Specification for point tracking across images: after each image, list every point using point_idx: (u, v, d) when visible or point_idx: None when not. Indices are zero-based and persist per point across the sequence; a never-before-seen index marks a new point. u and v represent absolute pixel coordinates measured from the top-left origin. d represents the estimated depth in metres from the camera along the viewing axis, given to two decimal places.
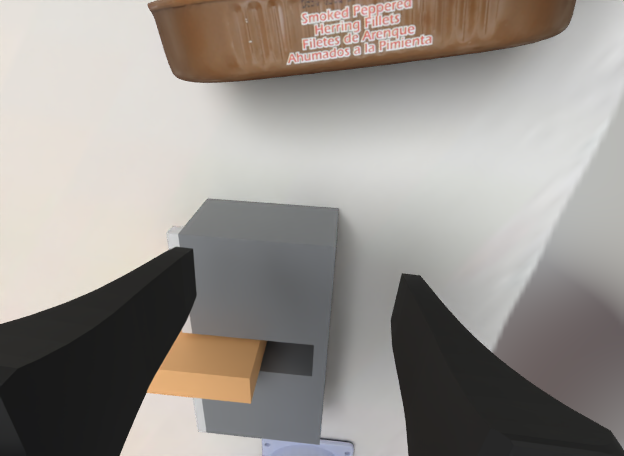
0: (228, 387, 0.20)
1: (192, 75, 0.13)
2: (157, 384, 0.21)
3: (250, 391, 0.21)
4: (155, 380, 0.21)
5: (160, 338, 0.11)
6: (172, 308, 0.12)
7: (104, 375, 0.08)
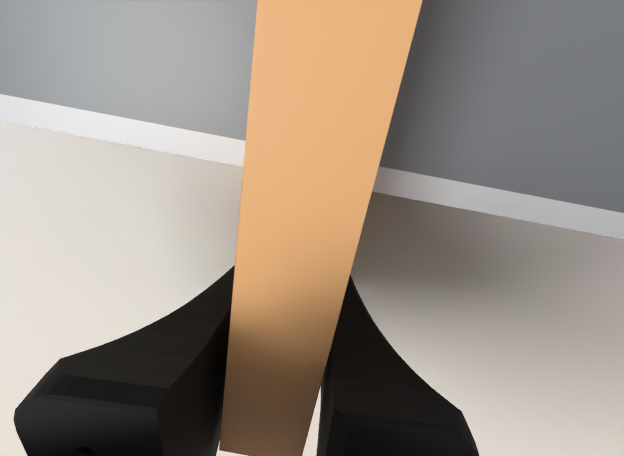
0: None
1: None
2: (304, 264, 0.07)
3: None
4: (287, 265, 0.07)
5: None
6: None
7: (209, 389, 0.08)
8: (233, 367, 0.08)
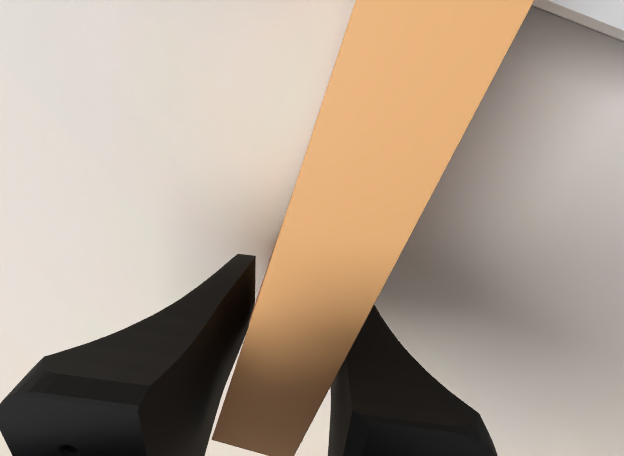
0: None
1: None
2: (343, 265, 0.06)
3: None
4: (325, 264, 0.06)
5: (231, 347, 0.11)
6: (240, 317, 0.12)
7: (197, 387, 0.08)
8: (245, 359, 0.08)
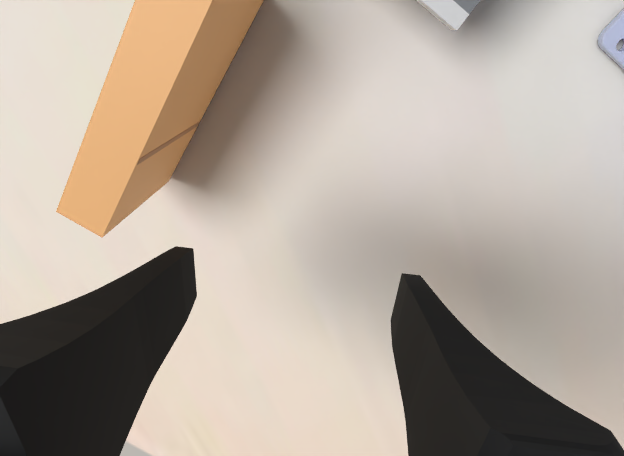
0: None
1: None
2: (135, 108, 0.13)
3: None
4: (126, 105, 0.13)
5: (160, 338, 0.11)
6: (172, 308, 0.12)
7: (104, 375, 0.08)
8: (81, 155, 0.14)
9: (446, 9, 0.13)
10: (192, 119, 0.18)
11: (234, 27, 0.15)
